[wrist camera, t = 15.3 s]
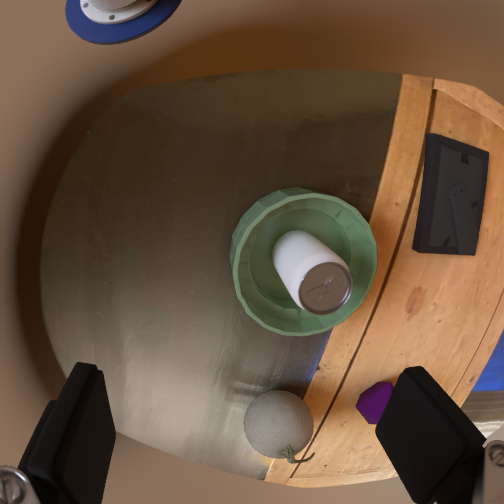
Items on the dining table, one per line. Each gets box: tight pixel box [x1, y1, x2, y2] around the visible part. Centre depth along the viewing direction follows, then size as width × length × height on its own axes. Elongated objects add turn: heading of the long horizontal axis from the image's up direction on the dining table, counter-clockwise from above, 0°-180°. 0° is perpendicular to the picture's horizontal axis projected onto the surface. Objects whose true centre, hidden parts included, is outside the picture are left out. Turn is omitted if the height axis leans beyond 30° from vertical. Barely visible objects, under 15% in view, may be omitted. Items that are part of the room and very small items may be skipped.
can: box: [272, 230, 353, 316], centre depth 36 cm, size 6×6×12 cm
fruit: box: [244, 390, 315, 464], centre depth 42 cm, size 10×12×15 cm
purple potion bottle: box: [356, 382, 394, 424], centre depth 43 cm, size 8×8×18 cm
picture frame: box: [412, 133, 489, 256], centre depth 42 cm, size 13×2×18 cm
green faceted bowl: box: [230, 187, 377, 336], centre depth 39 cm, size 17×17×7 cm
